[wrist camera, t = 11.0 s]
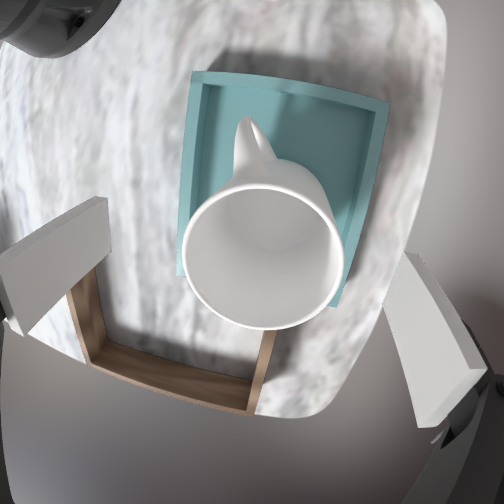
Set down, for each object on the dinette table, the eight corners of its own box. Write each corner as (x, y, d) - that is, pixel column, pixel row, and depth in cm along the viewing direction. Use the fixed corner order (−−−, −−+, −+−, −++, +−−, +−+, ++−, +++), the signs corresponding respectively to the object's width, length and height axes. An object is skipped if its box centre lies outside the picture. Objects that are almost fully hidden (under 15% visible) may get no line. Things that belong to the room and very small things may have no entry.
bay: (86, 251, 31) (60, 271, 26) (281, 295, 29) (278, 327, 25) (103, 343, 37) (87, 365, 33) (258, 386, 36) (253, 416, 31)
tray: (202, 75, 21) (192, 70, 19) (380, 104, 20) (390, 103, 18) (185, 262, 29) (176, 275, 27) (334, 291, 28) (336, 307, 26)
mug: (312, 108, 21) (324, 97, 11) (331, 247, 25) (347, 324, 16) (208, 127, 23) (146, 135, 13) (237, 258, 27) (205, 333, 18)
